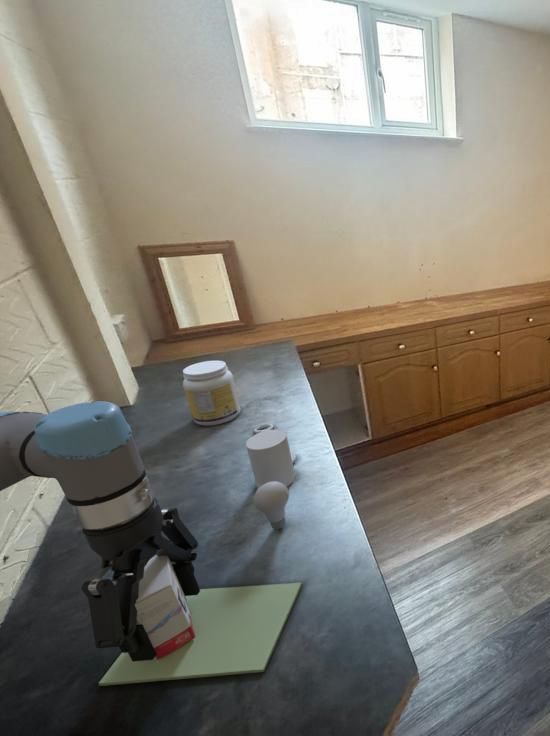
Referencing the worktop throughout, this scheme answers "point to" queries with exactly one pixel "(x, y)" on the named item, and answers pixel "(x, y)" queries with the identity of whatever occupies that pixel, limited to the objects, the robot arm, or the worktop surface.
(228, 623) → the mat
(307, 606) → the worktop surface
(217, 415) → the supplement tub
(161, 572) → the ink box
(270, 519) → the lightbulb
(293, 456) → the wrench
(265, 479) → the cup
